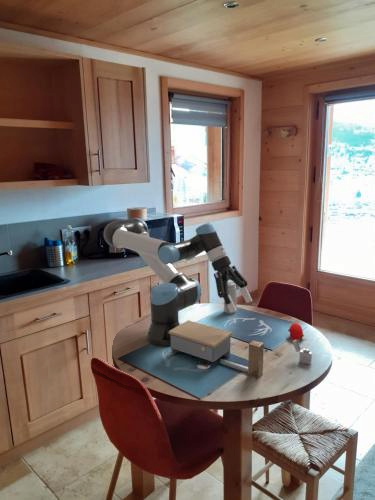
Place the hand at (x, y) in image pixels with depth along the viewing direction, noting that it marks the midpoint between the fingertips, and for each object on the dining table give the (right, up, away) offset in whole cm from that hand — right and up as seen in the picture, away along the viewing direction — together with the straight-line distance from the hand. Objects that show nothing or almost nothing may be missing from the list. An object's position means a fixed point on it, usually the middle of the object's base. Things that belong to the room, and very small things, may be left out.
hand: (241, 306), depth 154 cm
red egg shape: (+25, -15, +11) cm, 31 cm away
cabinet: (-17, -19, -3) cm, 25 cm away
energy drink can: (0, -9, +40) cm, 41 cm away
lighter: (+21, -20, -9) cm, 30 cm away
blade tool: (-3, -21, -14) cm, 25 cm away
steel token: (-16, -21, -11) cm, 28 cm away
